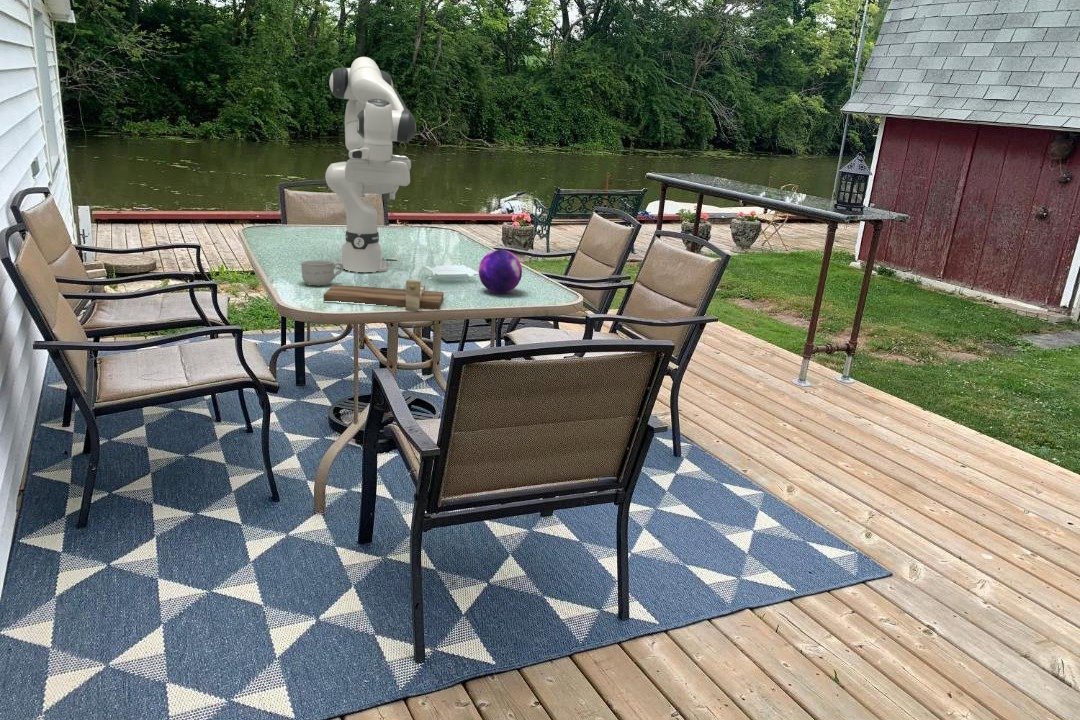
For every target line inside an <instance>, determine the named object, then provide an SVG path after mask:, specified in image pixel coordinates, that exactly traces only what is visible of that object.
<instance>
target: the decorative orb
mask: <svg viewBox="0 0 1080 720" xmlns="http://www.w3.org/2000/svg"><path fill="white" fill-rule="evenodd" d="M522 268H523V267H522V264H521V262H520V259H519V258H518V256H516V255H515V254H514V253H513V252H511V251H509V250H506V249H495V250H492V251H489V252H488V253H487V254H486V255H484V257H483V258H482V259H481V261H480V262H479V266H478V277H479V280H480V282H481V284H482V285H483V287H484V288H486V290H488V291H490V292H493V293H496V294H505V293H509V292H510V291H512V290H514V289H515V288H516V287H517V286H518V285H519V284H520V281H521V280H522V276H523V275H522V274H523V269H522Z"/></svg>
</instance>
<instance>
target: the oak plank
mask: <svg viewBox="0 0 1080 720" xmlns="http://www.w3.org/2000/svg"><path fill="white" fill-rule="evenodd" d="M444 295H445V293H444V291H433V290H425V292H424V294H423V296H422V298H421V300H420V308H421V309H422V308H423V310H434V309H437V310H438V309H439V310H440V308H441V306H442V304H443V302H444V299H445V298H444V297H445V296H444ZM324 301H339V302H340V301H341V302H354V303H365V304H376V305H387V306H397V307H396V308H403V307H405V309H406V288H404V289H403V288H389V287H373V286H357V285H356V286H355V285H345V284H344V285H342V284H333V285H332V286H331V287H330V288H329V289H328V290H327V291H325V293H324V294H323V302H324ZM387 306H386V307H387ZM421 309H420V310H421ZM439 310H438V311H439Z"/></svg>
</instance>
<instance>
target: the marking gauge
mask: <svg viewBox="0 0 1080 720" xmlns="http://www.w3.org/2000/svg"><path fill="white" fill-rule="evenodd" d="M421 284H422V282H421V279H409V278H408V279H406V284H405V285H406V286H405V289H406V308H405V311H417V310H419V311H420V310H421V309H420V300H421V298H422V296H423V294H424V292H425V291H426V285H423V284H422V285H421Z"/></svg>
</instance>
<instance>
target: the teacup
mask: <svg viewBox="0 0 1080 720" xmlns="http://www.w3.org/2000/svg"><path fill="white" fill-rule="evenodd" d="M300 264H301V277H302V280H303V281H304V282H305V283H306V284H307V285H308V284H310V285H309V286H311V285H318V286H317V287H321V286H320V285H325V286H328V285H329V284H330V283H331V282H332V281H333V280H335V278H336V277H337V276H339V275H341V273H342V272H343V271H344V270H343V264H342V263H341V261H333V260H328V259H309V260H303V261H301V262H300ZM337 265H340V268H339V270H338V271H337V272H334V271H335V267H337ZM327 284H328V285H327Z"/></svg>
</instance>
